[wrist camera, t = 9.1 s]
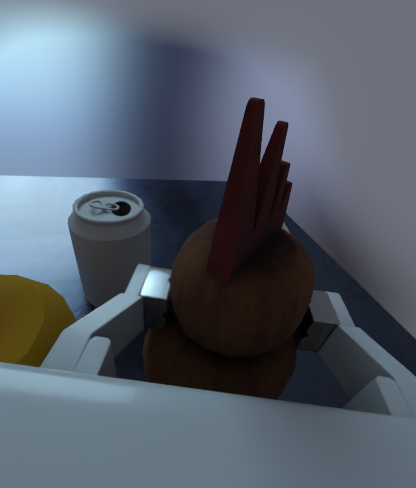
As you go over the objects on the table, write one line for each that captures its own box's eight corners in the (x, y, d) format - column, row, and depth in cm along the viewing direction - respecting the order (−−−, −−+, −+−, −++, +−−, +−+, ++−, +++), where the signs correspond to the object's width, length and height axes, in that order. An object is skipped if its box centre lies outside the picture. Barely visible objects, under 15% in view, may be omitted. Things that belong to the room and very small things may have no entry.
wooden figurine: (174, 499, 11) (285, 141, 2) (131, 378, 14) (99, 64, 6) (282, 412, 14) (507, 134, 5) (225, 332, 18) (298, 88, 9)
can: (152, 311, 28) (154, 223, 21) (81, 319, 26) (55, 225, 19) (148, 266, 34) (147, 185, 27) (88, 271, 32) (71, 184, 25)
